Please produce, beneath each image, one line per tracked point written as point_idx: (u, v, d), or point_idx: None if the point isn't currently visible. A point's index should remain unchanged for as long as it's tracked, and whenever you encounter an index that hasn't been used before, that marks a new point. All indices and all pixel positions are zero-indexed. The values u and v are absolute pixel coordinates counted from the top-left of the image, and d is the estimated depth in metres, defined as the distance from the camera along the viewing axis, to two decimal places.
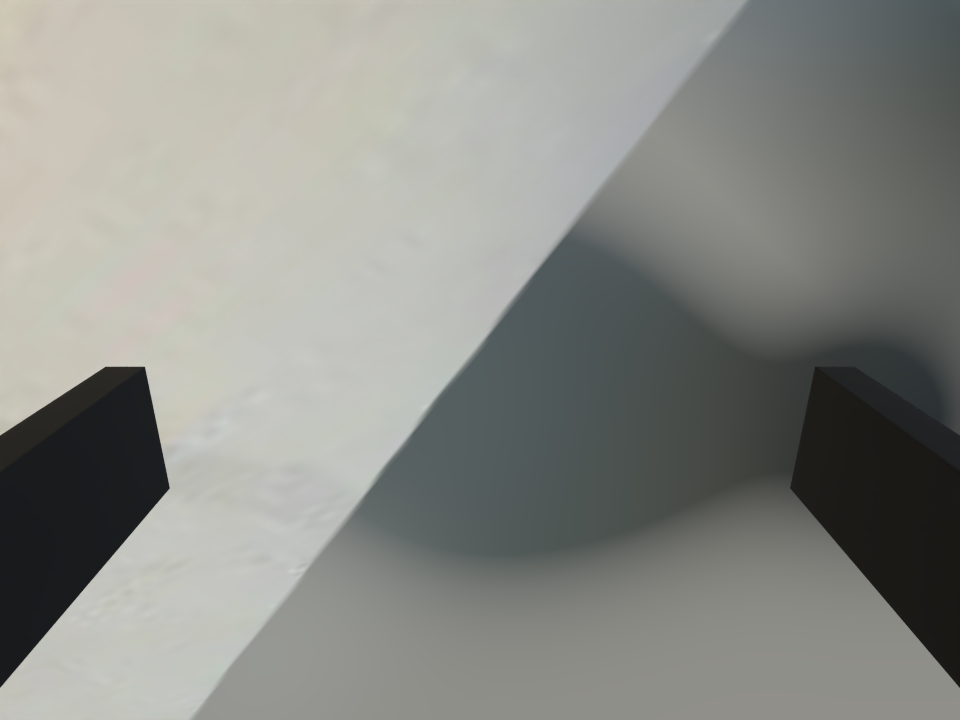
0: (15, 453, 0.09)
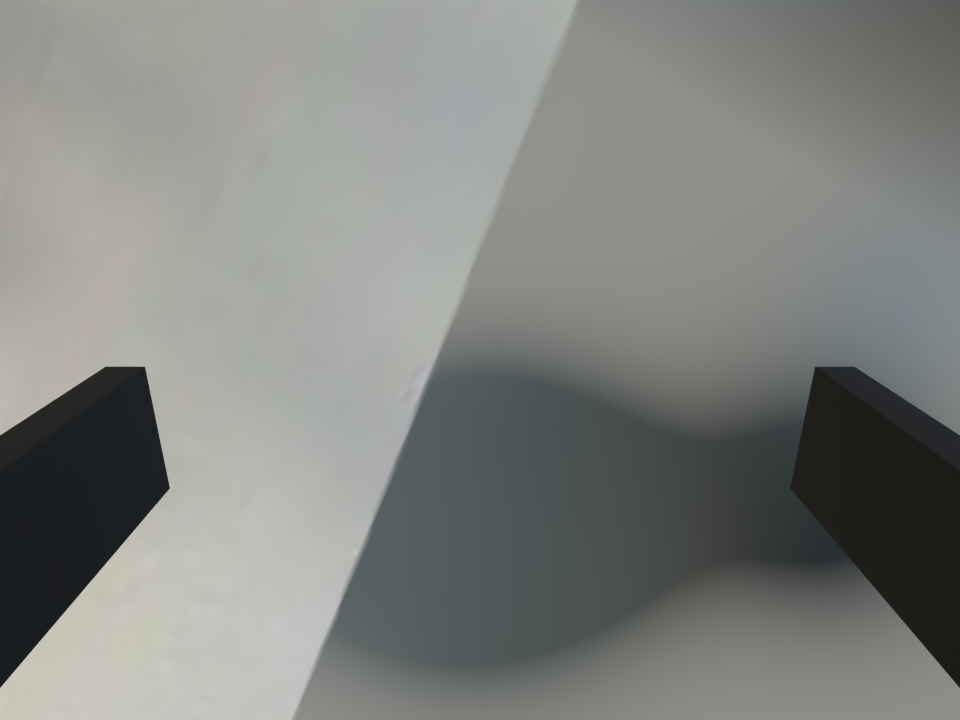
0: (15, 453, 0.09)
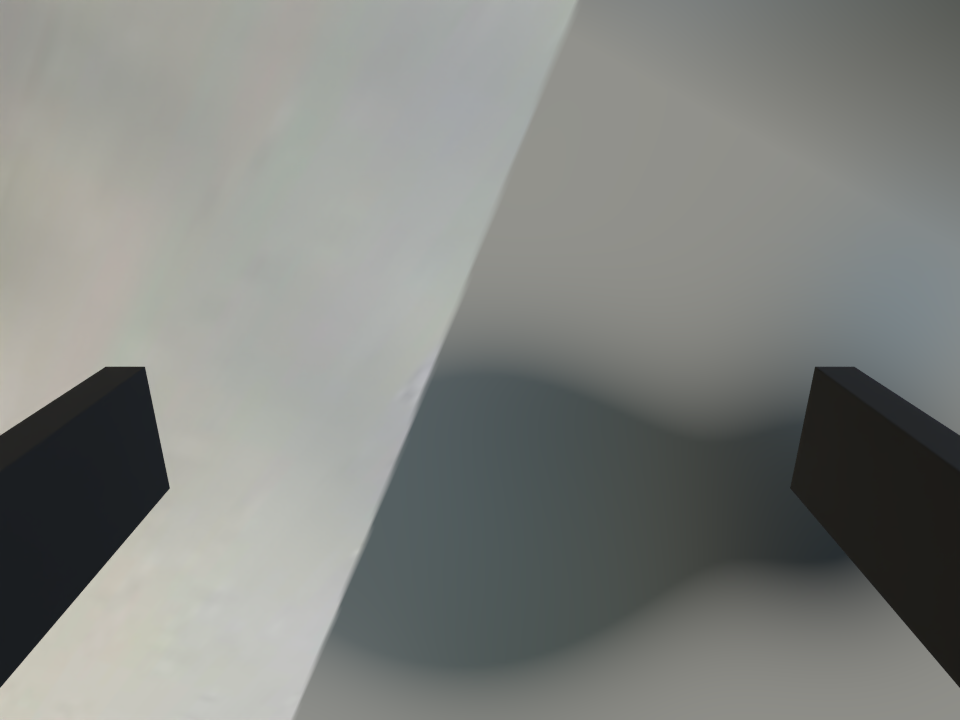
0: (15, 453, 0.09)
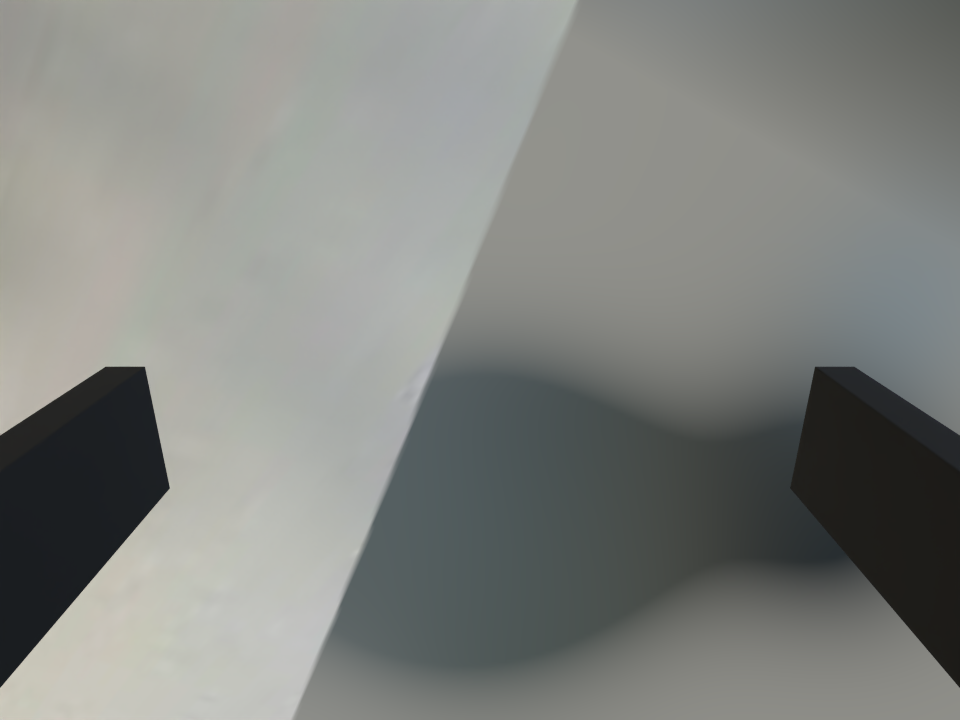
0: (15, 453, 0.09)
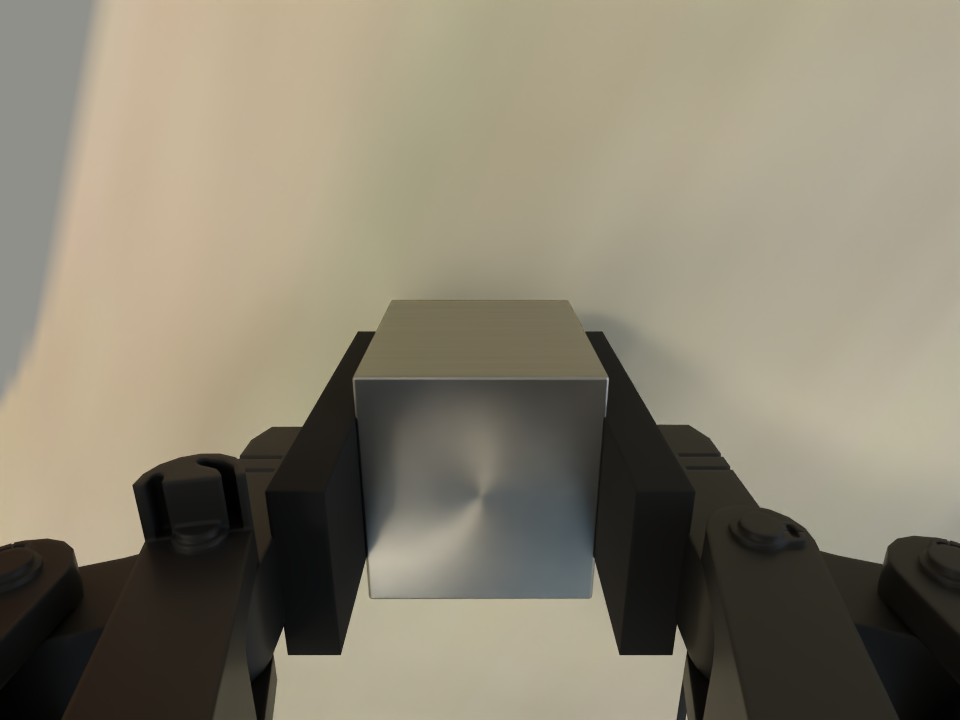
0: None
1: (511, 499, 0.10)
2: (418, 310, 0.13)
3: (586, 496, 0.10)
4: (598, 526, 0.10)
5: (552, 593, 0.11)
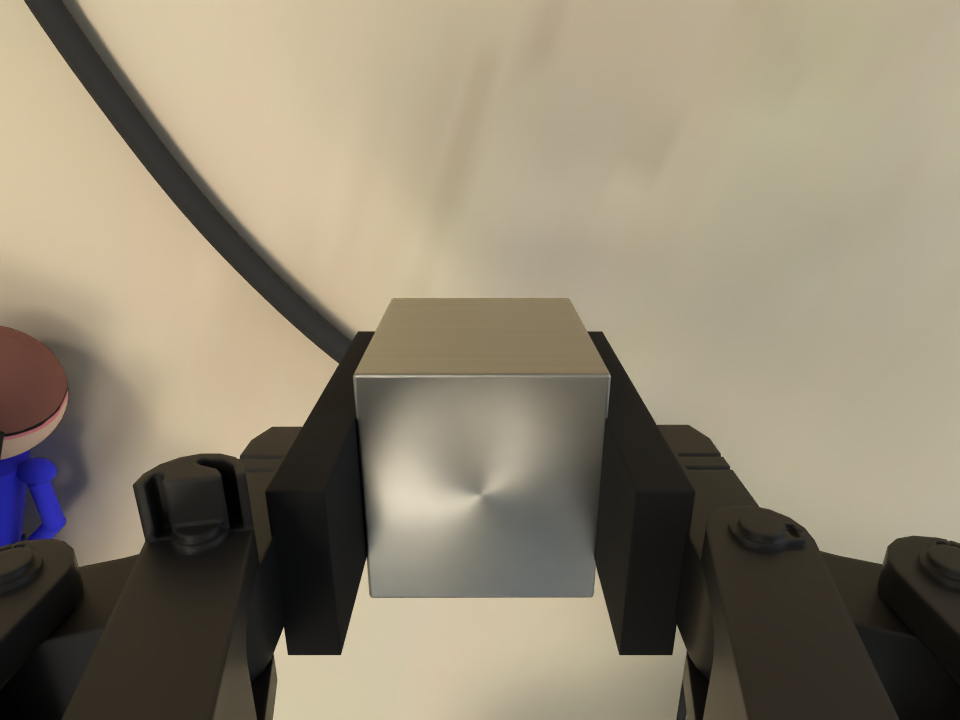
0: None
1: (512, 497, 0.10)
2: (419, 308, 0.13)
3: (588, 494, 0.10)
4: (598, 526, 0.10)
5: (553, 592, 0.11)
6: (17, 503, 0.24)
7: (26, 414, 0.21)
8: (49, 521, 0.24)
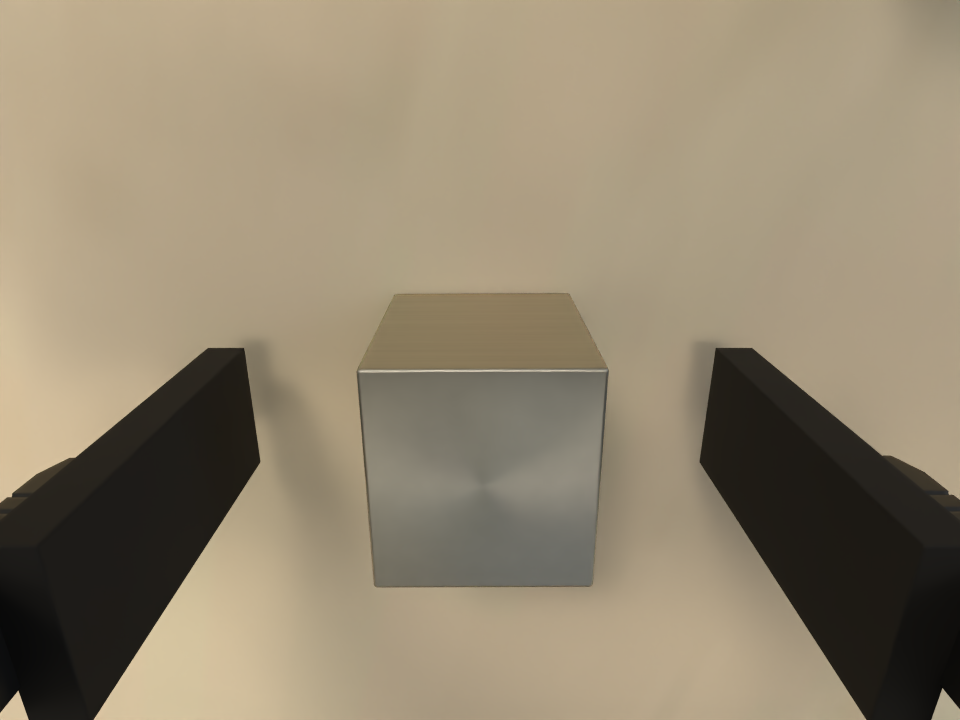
0: (159, 419, 0.10)
1: (512, 488, 0.11)
2: (421, 304, 0.13)
3: (586, 486, 0.11)
4: (804, 570, 0.09)
5: (553, 581, 0.11)
6: None
7: None
8: None
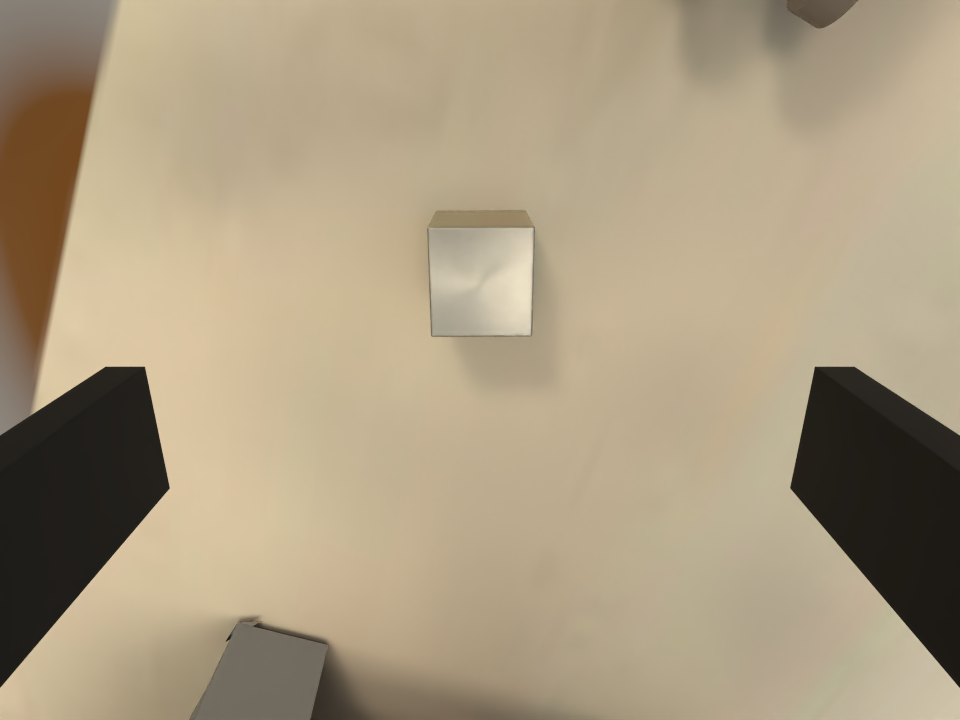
0: (15, 453, 0.09)
1: (494, 285, 0.24)
2: (450, 213, 0.27)
3: (527, 283, 0.24)
4: (955, 623, 0.08)
5: (513, 333, 0.25)
6: None
7: None
8: None
